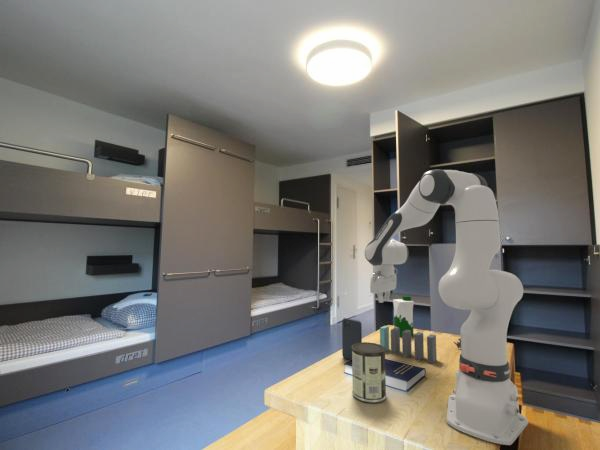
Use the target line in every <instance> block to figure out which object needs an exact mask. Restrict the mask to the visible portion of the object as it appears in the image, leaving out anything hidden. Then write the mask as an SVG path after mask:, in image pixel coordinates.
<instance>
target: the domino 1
mask: <svg viewBox="0 0 600 450" xmlns="http://www.w3.org/2000/svg"><path fill="white" fill-rule="evenodd" d="M379 345H382V346H383V347H385V351H386V352H387V351H389V350H390V326H387V325H383V326H381V327H379ZM388 349H389V350H388Z"/></svg>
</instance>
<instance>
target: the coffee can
mask: <svg viewBox="0 0 600 450" xmlns="http://www.w3.org/2000/svg"><path fill="white" fill-rule="evenodd" d="M351 366H352V368H351V369H352V371H351V372H352V377H351V378H352V379H351V381H352V395H353V397H355V398H356V399H357V400H360V401H362V402H365V403H380V402H383V401H384V400H386V398H387V392H386V391H387V388H386V383H387V381H386V378H387V377H386V352H385V347H383V346H382V345H380V343H375V342H367V341H366V342H364V341H363V342H361V343H356V344H353V345H352V361H351Z"/></svg>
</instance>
